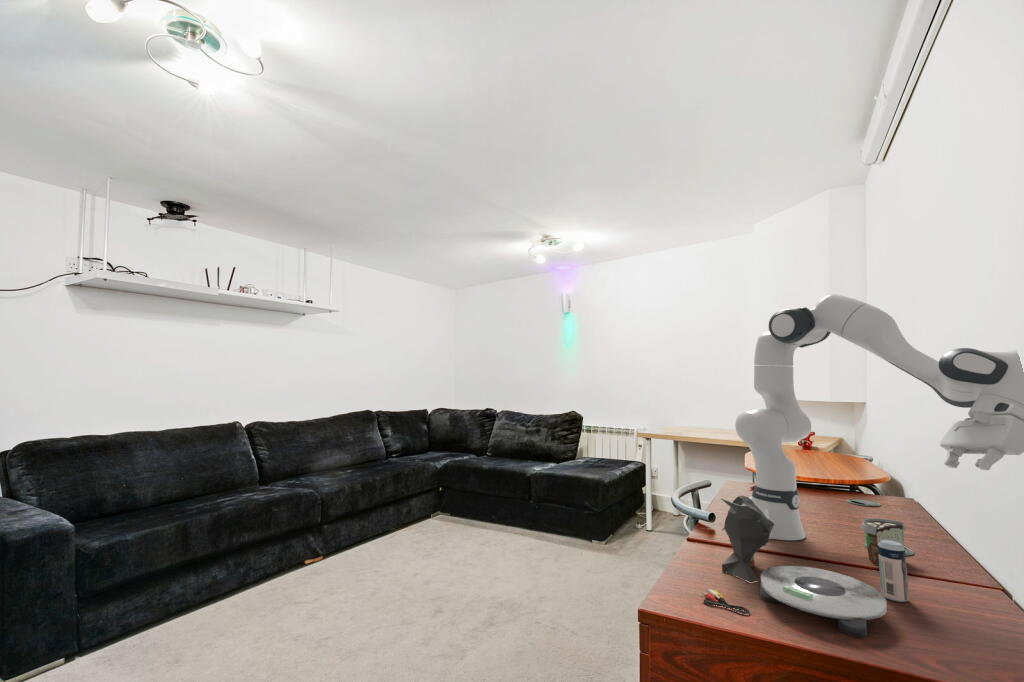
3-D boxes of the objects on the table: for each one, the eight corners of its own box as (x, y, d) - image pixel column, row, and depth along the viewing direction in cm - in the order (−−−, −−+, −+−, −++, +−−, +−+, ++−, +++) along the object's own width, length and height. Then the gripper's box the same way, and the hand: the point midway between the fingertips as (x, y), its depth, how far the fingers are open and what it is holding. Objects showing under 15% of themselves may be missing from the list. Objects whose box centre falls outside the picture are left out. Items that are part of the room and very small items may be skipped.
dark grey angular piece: (792, 572, 116) (789, 499, 117) (751, 584, 109) (748, 506, 111) (742, 553, 129) (740, 487, 130) (702, 562, 122) (701, 492, 124)
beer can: (914, 604, 99) (910, 546, 100) (889, 602, 100) (885, 545, 101) (900, 594, 104) (896, 539, 105) (876, 592, 105) (872, 537, 106)
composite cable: (752, 615, 95) (752, 603, 96) (739, 621, 93) (738, 609, 93) (710, 596, 104) (709, 585, 104) (696, 602, 101) (696, 590, 101)
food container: (882, 552, 130) (879, 515, 131) (907, 560, 124) (904, 521, 125) (852, 558, 125) (849, 520, 126) (877, 566, 120) (874, 526, 120)
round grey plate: (740, 600, 101) (739, 573, 102) (795, 578, 113) (794, 554, 113) (855, 649, 83) (853, 617, 83) (908, 617, 94) (906, 589, 94)
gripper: (949, 411, 114) (919, 457, 113) (1020, 404, 95) (984, 459, 94) (976, 426, 112) (946, 473, 112) (1054, 422, 93) (1018, 479, 92)
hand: (964, 467), depth 103 cm, fingers open, 8 cm apart
